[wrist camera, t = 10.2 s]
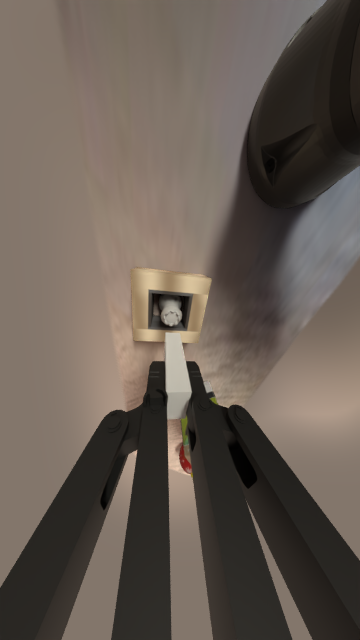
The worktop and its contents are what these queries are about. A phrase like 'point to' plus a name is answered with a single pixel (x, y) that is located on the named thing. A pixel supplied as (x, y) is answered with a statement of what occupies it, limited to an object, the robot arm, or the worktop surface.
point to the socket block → (172, 284)
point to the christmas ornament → (185, 462)
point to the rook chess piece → (170, 309)
